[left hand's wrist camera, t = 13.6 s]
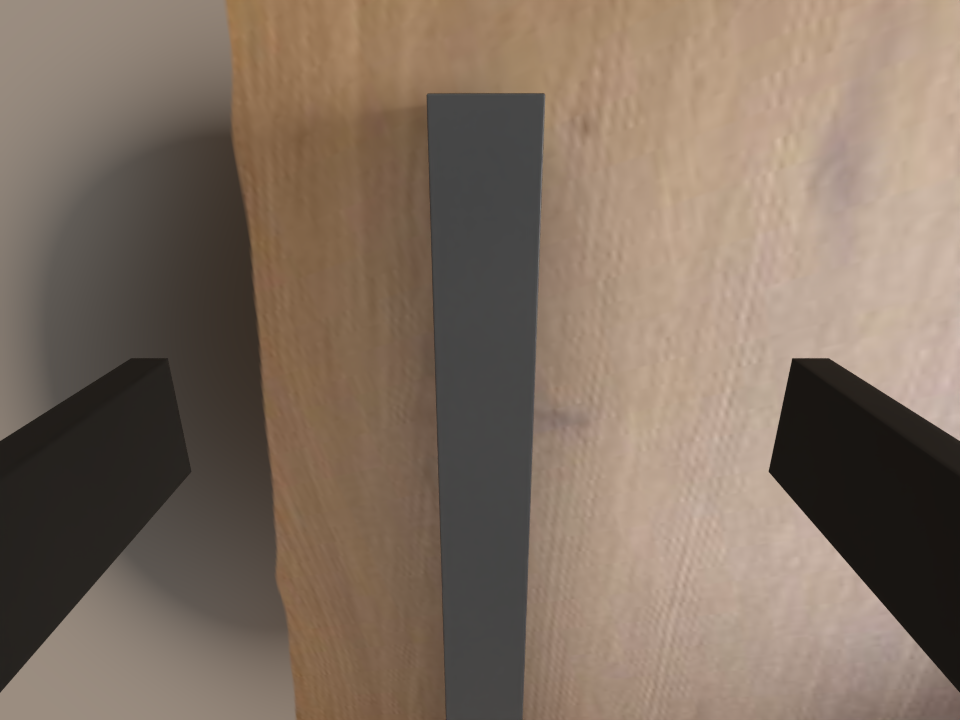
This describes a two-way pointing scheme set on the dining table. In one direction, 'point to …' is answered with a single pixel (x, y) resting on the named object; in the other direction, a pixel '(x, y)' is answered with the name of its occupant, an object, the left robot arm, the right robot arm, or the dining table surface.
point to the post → (485, 383)
